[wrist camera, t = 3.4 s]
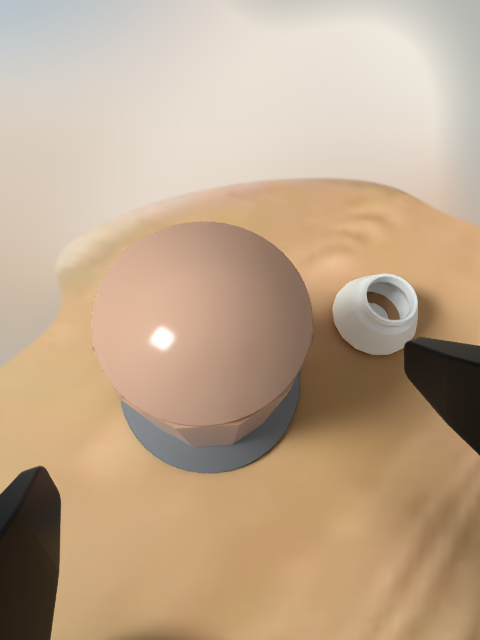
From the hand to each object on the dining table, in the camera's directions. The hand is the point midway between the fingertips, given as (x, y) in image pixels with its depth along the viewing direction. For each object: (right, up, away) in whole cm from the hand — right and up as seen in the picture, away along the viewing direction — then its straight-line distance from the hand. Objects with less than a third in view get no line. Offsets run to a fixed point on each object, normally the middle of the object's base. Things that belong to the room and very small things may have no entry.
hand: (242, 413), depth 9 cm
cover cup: (-2, -1, +12) cm, 12 cm away
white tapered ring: (+8, +2, +15) cm, 17 cm away
